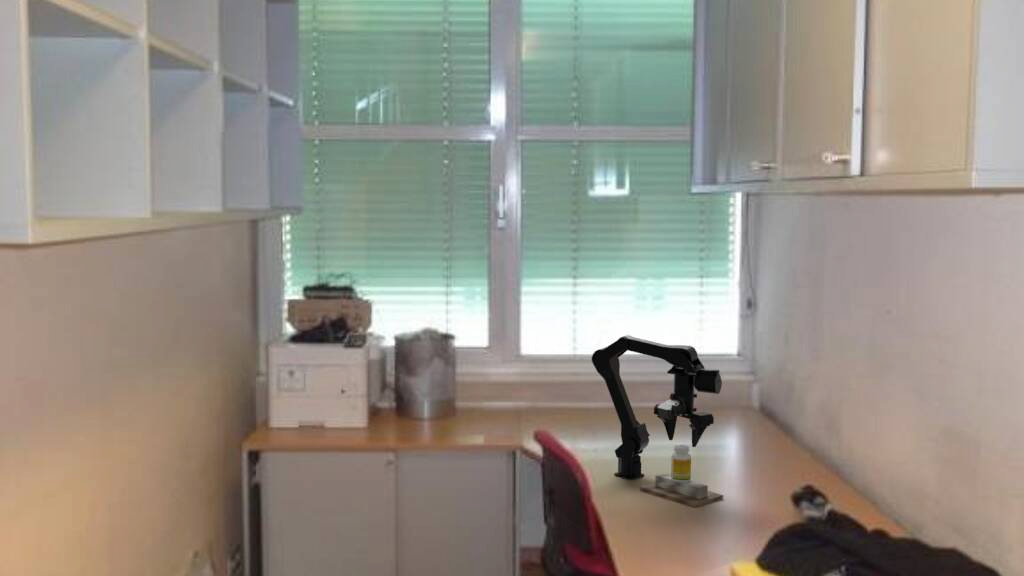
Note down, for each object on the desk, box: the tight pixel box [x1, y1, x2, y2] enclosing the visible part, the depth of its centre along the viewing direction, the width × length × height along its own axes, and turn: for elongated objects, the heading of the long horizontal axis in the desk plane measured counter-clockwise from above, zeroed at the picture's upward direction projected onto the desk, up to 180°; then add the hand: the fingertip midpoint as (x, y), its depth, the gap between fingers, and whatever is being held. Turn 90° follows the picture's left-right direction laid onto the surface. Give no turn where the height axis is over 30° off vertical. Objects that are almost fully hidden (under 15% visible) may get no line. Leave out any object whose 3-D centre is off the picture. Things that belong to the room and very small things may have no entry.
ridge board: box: [639, 472, 724, 508], centre depth 279 cm, size 20×12×4 cm, turn 39°
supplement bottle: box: [670, 444, 692, 483], centre depth 279 cm, size 5×5×10 cm
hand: (682, 443), depth 288 cm, fingers open, 9 cm apart
